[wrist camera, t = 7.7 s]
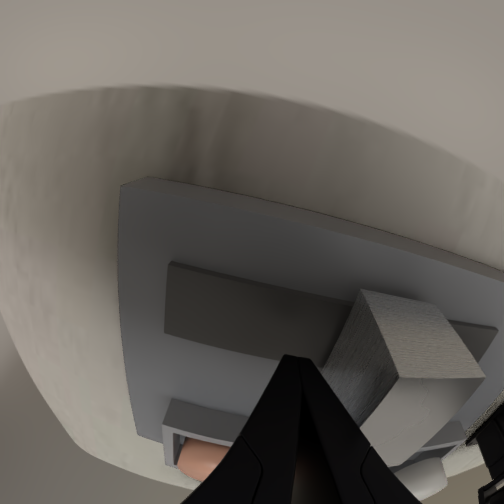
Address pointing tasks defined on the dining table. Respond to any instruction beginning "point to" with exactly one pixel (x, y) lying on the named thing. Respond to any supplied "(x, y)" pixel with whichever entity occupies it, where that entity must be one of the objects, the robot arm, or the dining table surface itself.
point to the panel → (269, 305)
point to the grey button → (423, 477)
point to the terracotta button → (200, 457)
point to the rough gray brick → (400, 372)
